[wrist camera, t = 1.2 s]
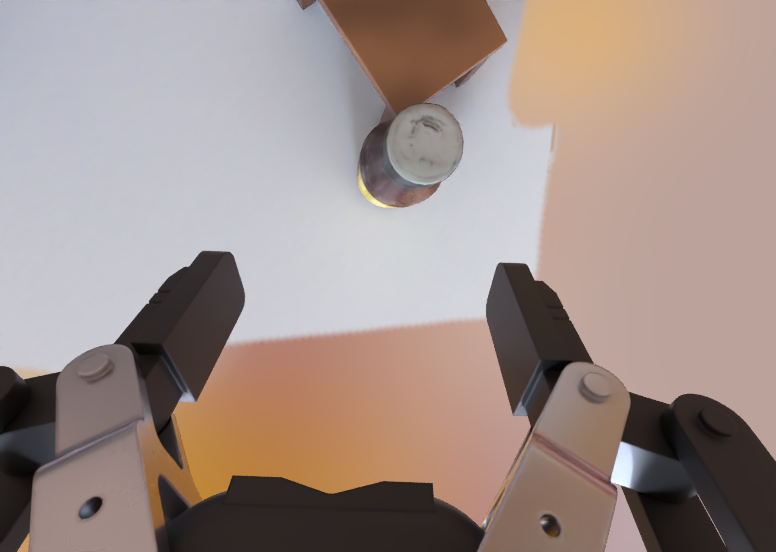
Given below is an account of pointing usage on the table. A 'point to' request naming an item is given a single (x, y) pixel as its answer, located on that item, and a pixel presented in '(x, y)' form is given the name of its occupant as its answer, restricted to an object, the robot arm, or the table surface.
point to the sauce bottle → (409, 156)
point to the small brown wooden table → (415, 44)
